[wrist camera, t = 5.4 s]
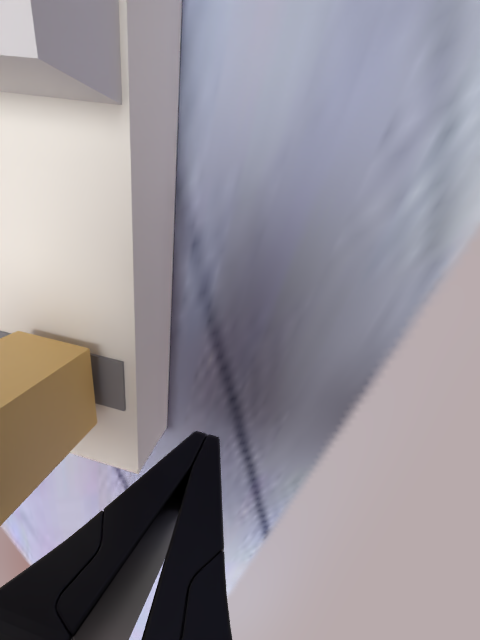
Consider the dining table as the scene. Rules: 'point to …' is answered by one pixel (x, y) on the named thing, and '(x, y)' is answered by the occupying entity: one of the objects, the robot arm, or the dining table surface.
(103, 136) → the control panel
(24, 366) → the tan wooden brick
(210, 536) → the robot arm
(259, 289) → the dining table surface
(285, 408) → the dining table surface
